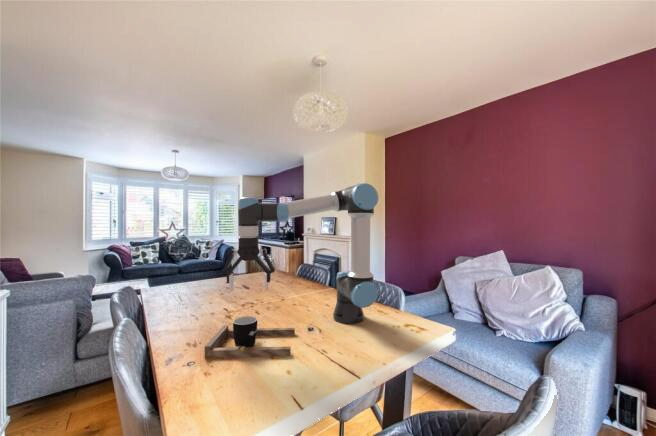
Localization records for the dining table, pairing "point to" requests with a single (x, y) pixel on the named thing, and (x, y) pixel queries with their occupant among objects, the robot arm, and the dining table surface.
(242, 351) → the frame
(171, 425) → the dining table surface
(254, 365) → the dining table surface
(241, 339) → the mug
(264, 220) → the robot arm
